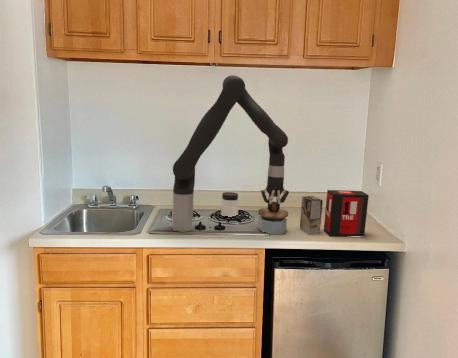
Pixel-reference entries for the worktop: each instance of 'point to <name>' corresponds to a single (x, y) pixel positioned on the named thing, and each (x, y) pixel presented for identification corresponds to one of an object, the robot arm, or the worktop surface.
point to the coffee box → (311, 214)
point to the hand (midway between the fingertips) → (273, 211)
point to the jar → (229, 204)
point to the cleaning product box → (345, 213)
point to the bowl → (272, 225)
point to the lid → (273, 212)
